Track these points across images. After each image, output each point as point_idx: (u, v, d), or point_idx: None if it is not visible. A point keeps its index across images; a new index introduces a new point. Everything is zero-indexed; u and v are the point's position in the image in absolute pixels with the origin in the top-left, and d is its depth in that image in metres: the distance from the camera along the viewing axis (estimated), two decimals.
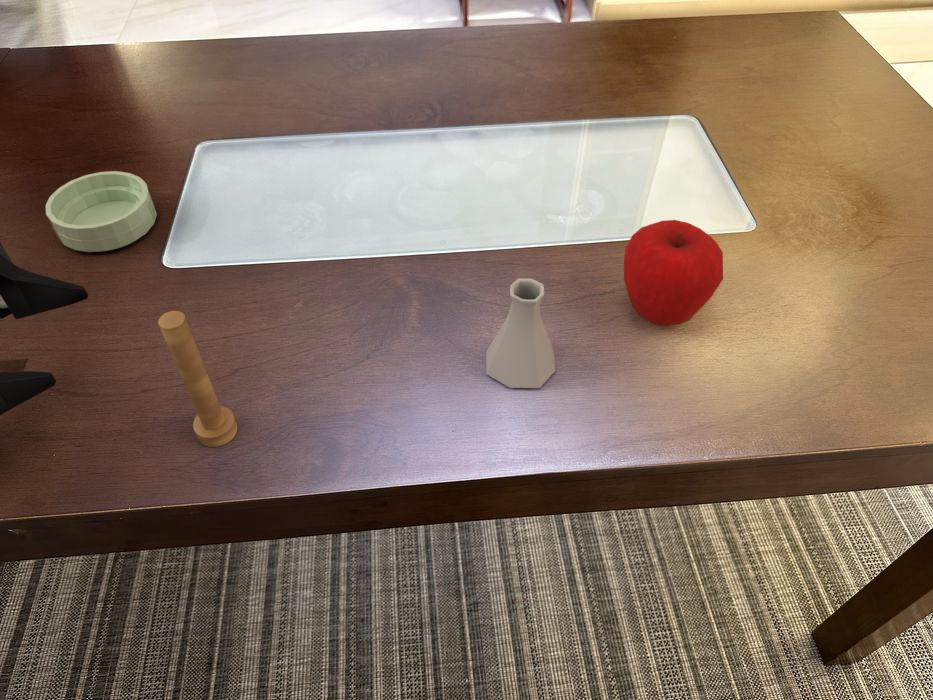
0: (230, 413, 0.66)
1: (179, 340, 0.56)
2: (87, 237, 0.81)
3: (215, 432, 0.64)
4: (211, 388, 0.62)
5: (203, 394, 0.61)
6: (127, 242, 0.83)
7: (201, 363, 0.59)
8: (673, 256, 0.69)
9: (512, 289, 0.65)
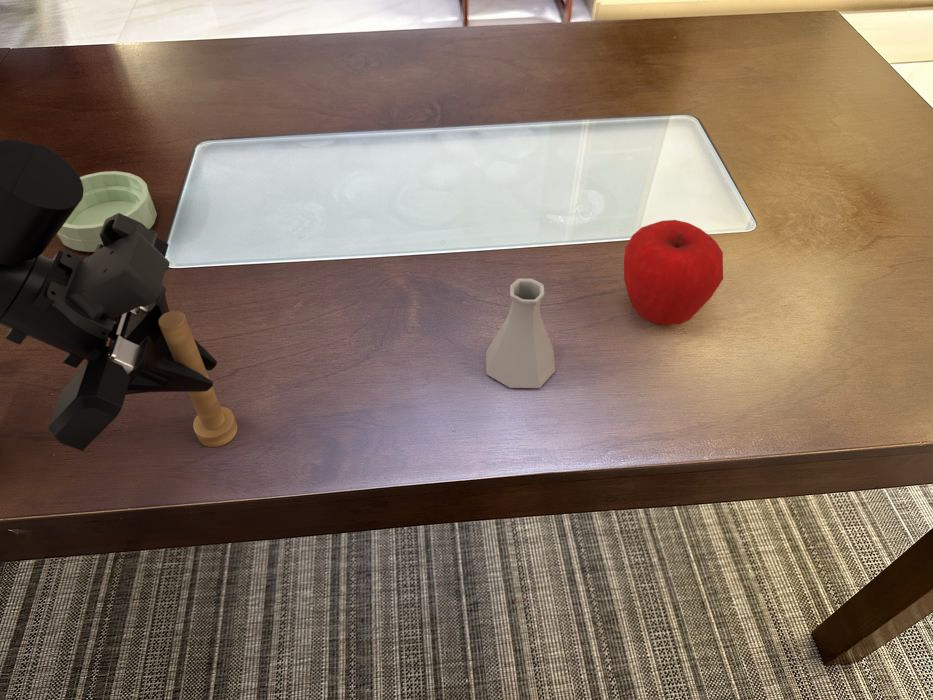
0: (230, 413, 0.66)
1: (179, 340, 0.56)
2: (87, 237, 0.81)
3: (215, 432, 0.64)
4: (211, 388, 0.62)
5: (203, 394, 0.61)
6: None
7: (201, 363, 0.59)
8: (673, 256, 0.69)
9: (512, 289, 0.65)
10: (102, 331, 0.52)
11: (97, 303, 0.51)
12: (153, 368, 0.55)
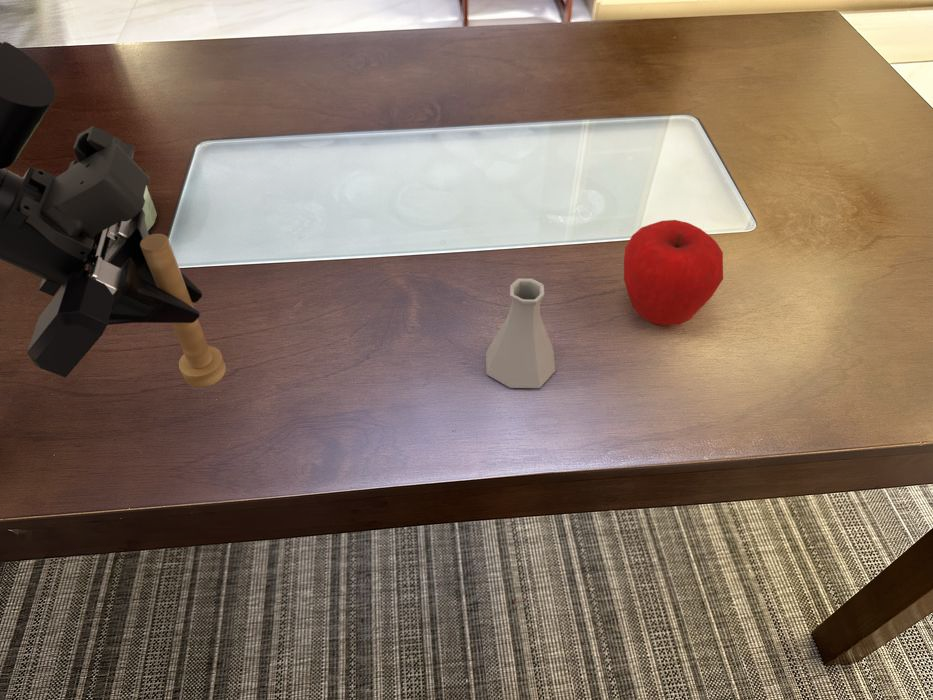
0: (217, 352, 0.63)
1: (163, 264, 0.53)
2: None
3: (203, 371, 0.61)
4: (197, 321, 0.59)
5: (189, 327, 0.58)
6: None
7: (186, 292, 0.56)
8: (673, 256, 0.69)
9: (512, 289, 0.65)
10: (81, 250, 0.49)
11: (75, 218, 0.47)
12: (137, 293, 0.52)
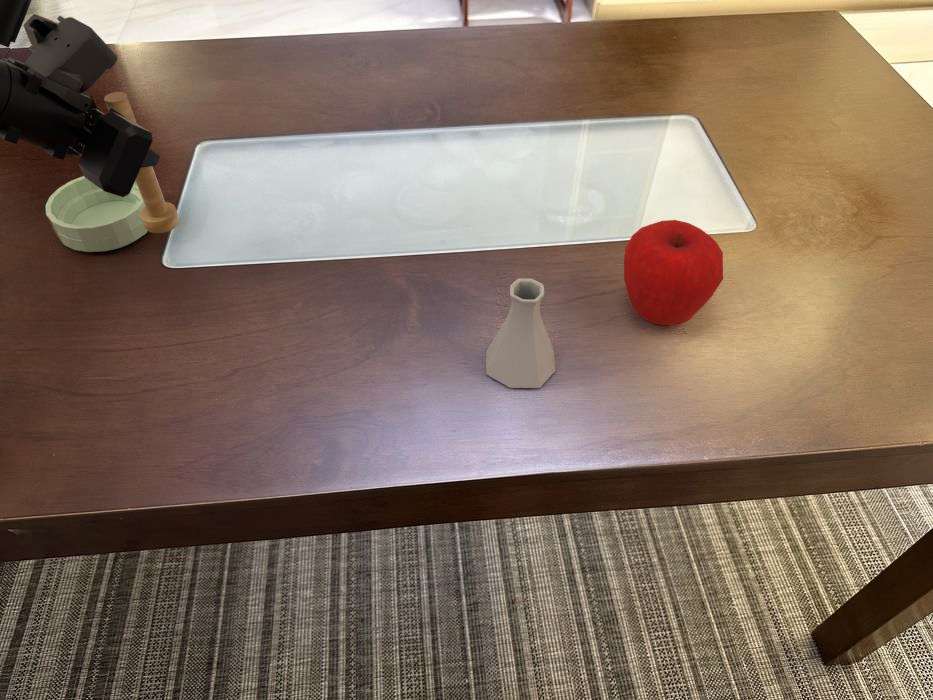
0: (165, 202, 0.78)
1: (129, 112, 0.68)
2: (87, 237, 0.81)
3: (167, 215, 0.76)
4: (153, 170, 0.73)
5: (152, 173, 0.73)
6: (127, 242, 0.83)
7: None
8: (673, 256, 0.69)
9: (512, 289, 0.65)
10: (85, 102, 0.62)
11: (76, 73, 0.61)
12: None
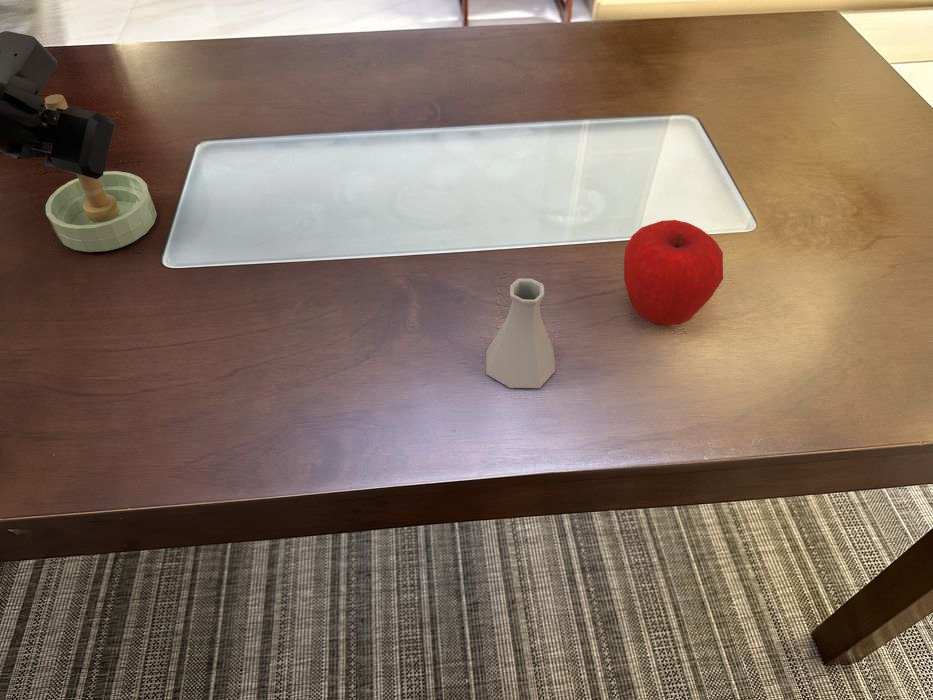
0: None
1: None
2: (87, 237, 0.81)
3: (110, 203, 0.84)
4: None
5: None
6: (127, 242, 0.83)
7: None
8: (673, 256, 0.69)
9: (512, 289, 0.65)
10: (40, 103, 0.70)
11: (29, 78, 0.69)
12: None
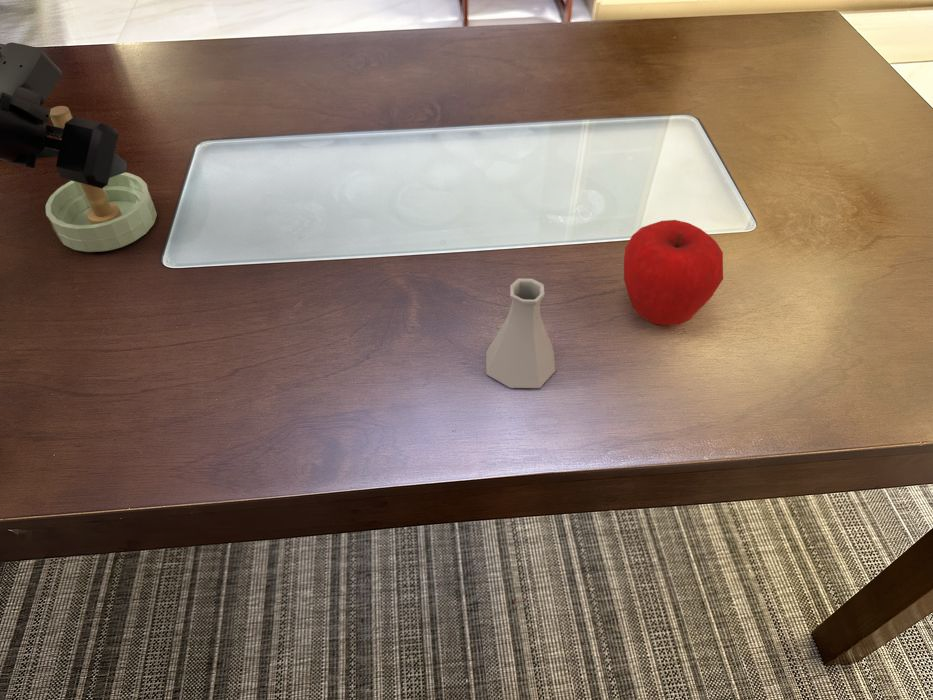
0: None
1: None
2: (87, 237, 0.81)
3: (114, 212, 0.85)
4: None
5: None
6: (127, 242, 0.83)
7: None
8: (673, 256, 0.69)
9: (512, 289, 0.65)
10: (46, 113, 0.71)
11: (34, 89, 0.70)
12: None
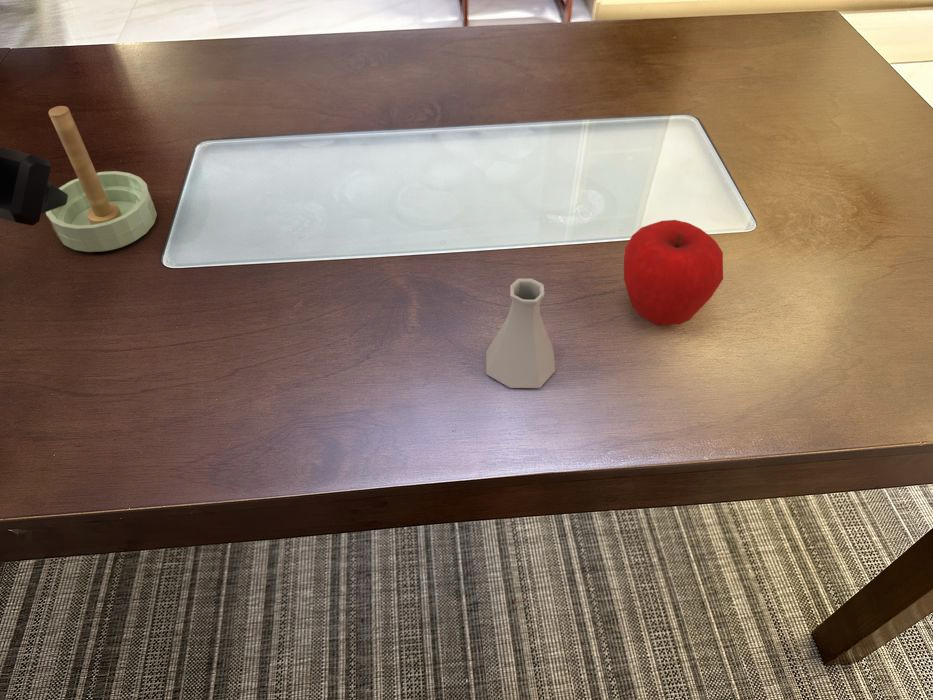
0: None
1: (73, 122, 0.77)
2: (87, 237, 0.81)
3: (114, 212, 0.85)
4: None
5: (96, 176, 0.82)
6: (127, 242, 0.83)
7: None
8: (673, 256, 0.69)
9: (512, 289, 0.65)
10: None
11: None
12: None
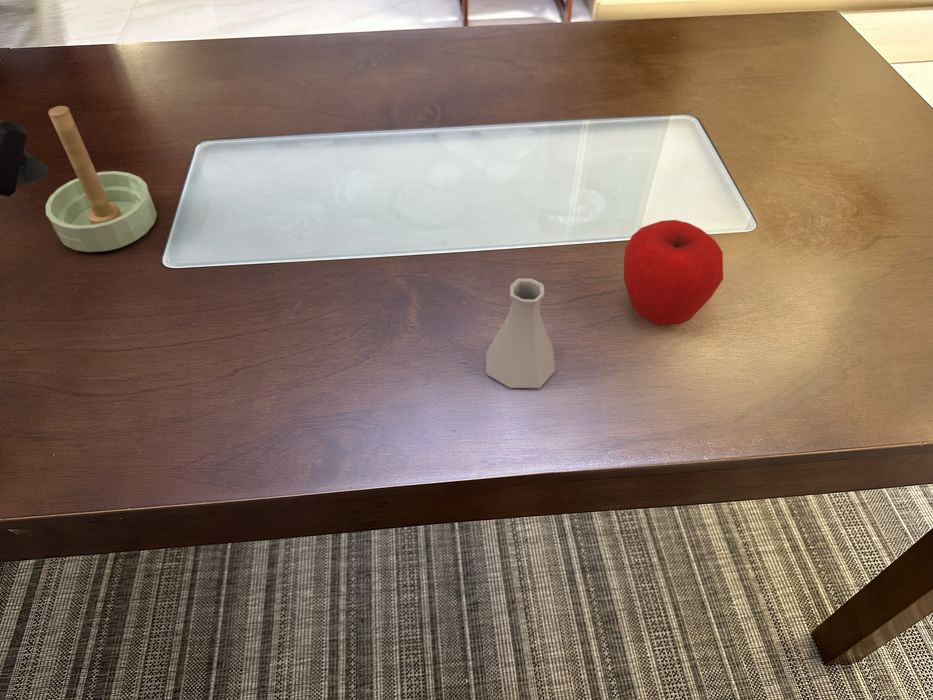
0: None
1: (73, 122, 0.77)
2: (87, 237, 0.81)
3: (114, 212, 0.85)
4: None
5: (96, 176, 0.82)
6: (127, 242, 0.83)
7: None
8: (673, 256, 0.69)
9: (512, 289, 0.65)
10: None
11: None
12: None
